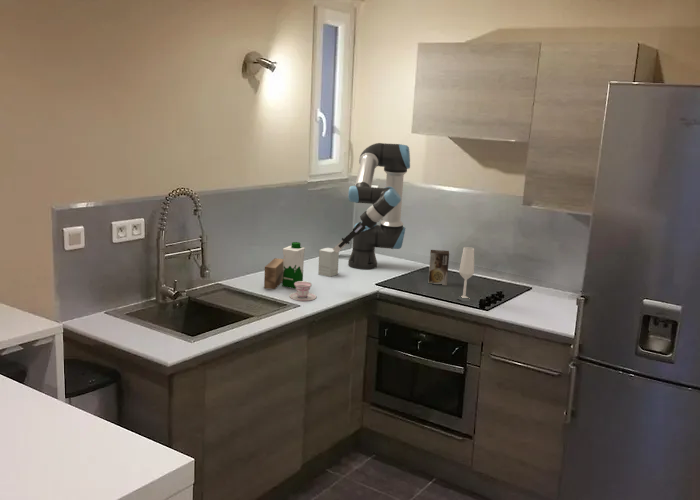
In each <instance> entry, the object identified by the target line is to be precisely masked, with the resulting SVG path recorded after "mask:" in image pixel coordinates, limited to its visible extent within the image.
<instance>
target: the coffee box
mask: <svg viewBox="0 0 700 500" xmlns="http://www.w3.org/2000/svg"><path fill="white" fill-rule="evenodd" d="M449 261H450V251H449V250H442V249H441V250H440V249H430V255H429V267H428V268H429V269H428V280H427V283H434V284H442V285H441V286H448V277H449V276H448V275H449V274H448V272H449V263H450V262H449Z"/></svg>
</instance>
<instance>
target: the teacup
mask: <svg viewBox="0 0 700 500" xmlns="http://www.w3.org/2000/svg"><path fill="white" fill-rule="evenodd" d="M312 285H313V284H312V283H311V281H310V282H309V281H307V280H303V281H298V282H295V283H294V286H295V287H296V292H292V293H289V294H288V295H289V298H290V299H291V300H295V301H298V302H299V301H301V302H309V301H314V300H316V299H317V295H316V294H314V293H311V292H309V291H310V289H311V287H312Z"/></svg>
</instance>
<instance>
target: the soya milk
mask: <svg viewBox="0 0 700 500" xmlns="http://www.w3.org/2000/svg"><path fill="white" fill-rule="evenodd" d="M305 250H306V247H303V246H301V242H297V241H293V242H291V245H289V246H286V247H284V248H282V253H283V259H284V261H283V281H282V282H281V284H282V287H283V288H284V287H285V288H289V289H296V287H295V286H294V283H295V282H298V281H304V264H305V263H304V262H305V261H304V258H305V252H306V251H305ZM296 290H297V289H296Z"/></svg>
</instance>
